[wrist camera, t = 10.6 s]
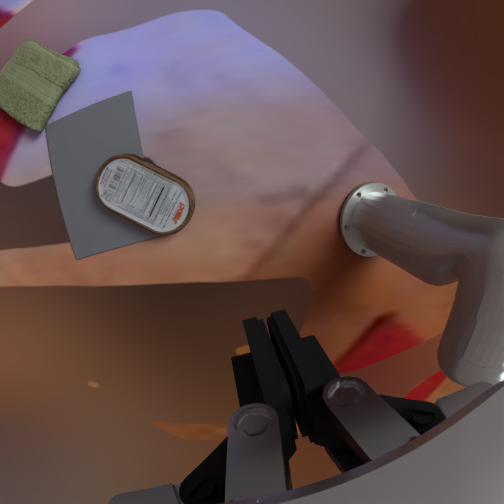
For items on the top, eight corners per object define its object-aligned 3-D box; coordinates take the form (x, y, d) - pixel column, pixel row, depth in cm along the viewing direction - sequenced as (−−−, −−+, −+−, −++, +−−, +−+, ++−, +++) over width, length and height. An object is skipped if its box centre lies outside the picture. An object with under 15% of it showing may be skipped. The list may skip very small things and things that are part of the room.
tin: (114, 144, 34) (92, 196, 36) (106, 144, 31) (83, 201, 33) (205, 189, 38) (179, 240, 40) (205, 193, 35) (176, 248, 37)
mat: (131, 91, 32) (130, 90, 32) (162, 235, 39) (162, 235, 39) (46, 126, 31) (45, 126, 31) (77, 258, 38) (76, 259, 38)
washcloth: (30, 38, 24) (22, 32, 21) (88, 67, 29) (80, 60, 26) (-9, 101, 26) (-19, 99, 23) (42, 139, 31) (31, 138, 28)
